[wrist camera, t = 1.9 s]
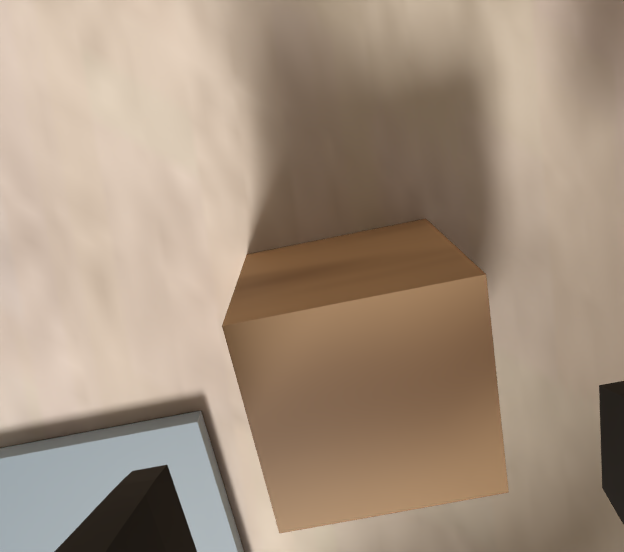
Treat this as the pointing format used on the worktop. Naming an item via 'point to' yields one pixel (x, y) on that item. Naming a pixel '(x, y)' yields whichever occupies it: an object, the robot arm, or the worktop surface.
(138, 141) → the worktop surface
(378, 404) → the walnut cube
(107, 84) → the worktop surface
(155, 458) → the slate board
